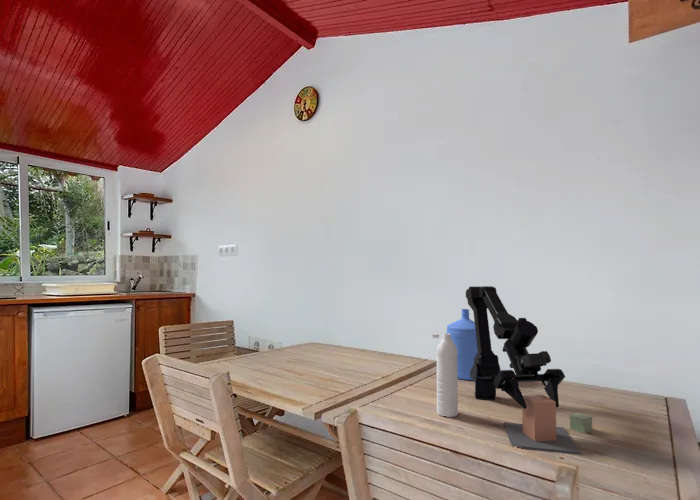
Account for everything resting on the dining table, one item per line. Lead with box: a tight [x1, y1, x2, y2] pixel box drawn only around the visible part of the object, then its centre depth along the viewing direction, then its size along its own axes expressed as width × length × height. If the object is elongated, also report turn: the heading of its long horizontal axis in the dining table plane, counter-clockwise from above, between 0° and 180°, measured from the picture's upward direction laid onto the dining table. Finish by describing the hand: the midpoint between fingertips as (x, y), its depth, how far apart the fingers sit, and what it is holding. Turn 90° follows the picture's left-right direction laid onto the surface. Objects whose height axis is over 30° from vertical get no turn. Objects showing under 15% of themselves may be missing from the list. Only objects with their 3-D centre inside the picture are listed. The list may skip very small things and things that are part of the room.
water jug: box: [446, 308, 478, 381], centre depth 174 cm, size 16×16×28 cm
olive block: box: [569, 412, 593, 435], centre depth 116 cm, size 4×4×4 cm
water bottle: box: [430, 332, 459, 418], centre depth 128 cm, size 9×6×25 cm
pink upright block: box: [521, 394, 557, 441], centre depth 110 cm, size 6×6×10 cm
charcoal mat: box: [503, 421, 582, 455], centre depth 110 cm, size 16×16×1 cm
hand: (541, 407), depth 109 cm, fingers open, 9 cm apart
